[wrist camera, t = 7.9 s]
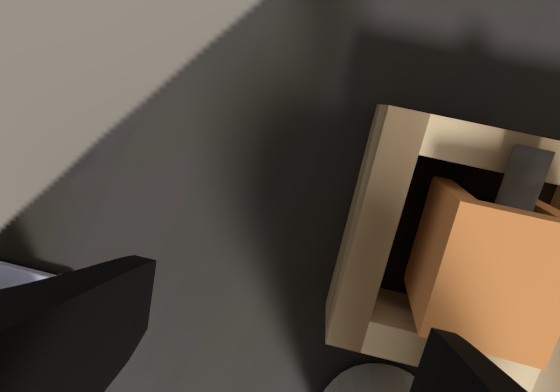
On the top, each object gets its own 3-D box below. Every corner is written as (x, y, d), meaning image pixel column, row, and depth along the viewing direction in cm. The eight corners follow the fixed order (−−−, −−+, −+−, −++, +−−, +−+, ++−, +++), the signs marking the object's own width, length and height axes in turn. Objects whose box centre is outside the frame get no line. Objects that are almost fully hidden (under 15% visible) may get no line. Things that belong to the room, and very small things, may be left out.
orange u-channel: (403, 278, 19) (418, 336, 14) (433, 175, 18) (460, 200, 13) (496, 301, 18) (545, 370, 13) (533, 196, 17) (602, 232, 12)
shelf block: (325, 303, 20) (325, 362, 16) (377, 104, 18) (394, 105, 13) (526, 351, 19) (586, 427, 15) (608, 152, 17) (711, 171, 12)
